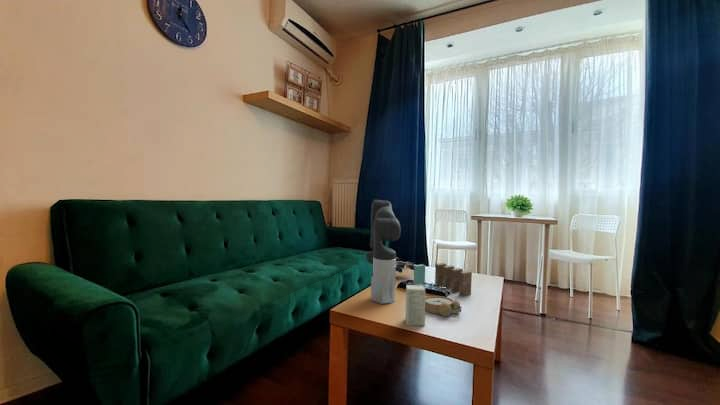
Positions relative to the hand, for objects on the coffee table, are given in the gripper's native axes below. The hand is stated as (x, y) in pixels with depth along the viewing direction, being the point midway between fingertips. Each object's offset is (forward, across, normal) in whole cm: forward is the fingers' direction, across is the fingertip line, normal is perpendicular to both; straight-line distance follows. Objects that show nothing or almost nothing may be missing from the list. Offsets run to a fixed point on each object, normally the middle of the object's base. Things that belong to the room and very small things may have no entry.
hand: (408, 269), depth 140 cm
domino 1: (+10, +12, +6) cm, 16 cm away
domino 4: (+25, +12, +6) cm, 28 cm away
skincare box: (+37, -26, +6) cm, 45 cm away
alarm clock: (+33, -10, +7) cm, 35 cm away
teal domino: (+8, 0, +6) cm, 10 cm away
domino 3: (+20, +12, +6) cm, 24 cm away
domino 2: (+15, +12, +6) cm, 20 cm away
